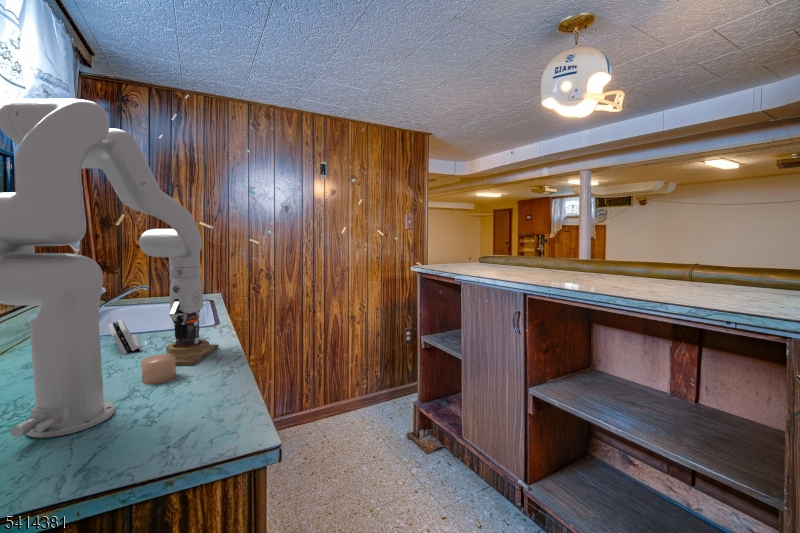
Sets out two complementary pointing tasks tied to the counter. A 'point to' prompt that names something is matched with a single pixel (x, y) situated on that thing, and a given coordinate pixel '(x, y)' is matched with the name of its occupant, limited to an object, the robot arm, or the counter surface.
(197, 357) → the holder plate
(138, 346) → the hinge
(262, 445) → the counter surface
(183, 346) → the supplement bottle
